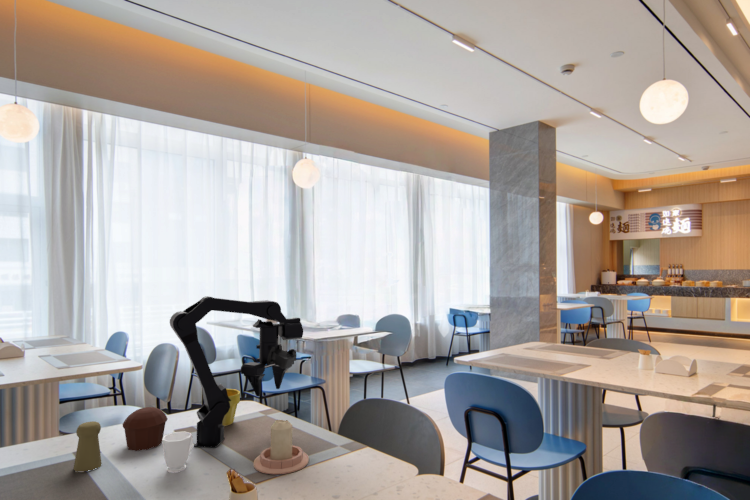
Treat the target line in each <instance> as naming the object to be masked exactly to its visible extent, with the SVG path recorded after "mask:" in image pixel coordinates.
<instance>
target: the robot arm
mask: <svg viewBox="0 0 750 500" xmlns="http://www.w3.org/2000/svg"><path fill="white" fill-rule="evenodd" d="M211 311H216V312H223V313H224V312H225V313H235V314H247V315H252V316H255V317H258V318H262V319H265V320H268V321H263V320H262V319H257V320H256V322H255V323H253V324H252V327H253V328H256V329H259V342H258V343H259V344H257V345H256V346H255V347H256V349H259V351H258V352H259V353H258V354H259V357H258V358H255V361H254V362H253V361H250V362H247V363H243V364H242V365H240V374H242V375H243V376H244V377H246V379H247V380H248V381H249V384H250V385H251V387H252V391H253V392H254V394H255V396H256V397H260V396H261V389H262V379H263V378H264V376H266V374H265V371H266V369H267V368H271V369H272V375H273V380H274V384H275V389H276V390H280V388H281V385H282V384H283V383H282V382H283V379H284V377H285V374H286V372H287V371H288V370H289V369H290V368H292V367H293V365H294V364H295V362H296V361H297V350H295V349H293V348H291V349H289V350H283V345H282V344H280V343H279V338H281V340H282V341H288V340H290V341H291V340H301V339H302V338H303V335H304V327H303V324H302V322H301V318H300V317H292V318H287V317H286V316H285V315H284V314H283V312H282V309H281V305H280V304H279V302H278V301H272V300H268V299H267V300H256V301H255V300H253V301H244V300H235V299H227V298H221V297H220V298H219V297H213V296H210V295H209V296H203V297H201V299H199V300H198V301H197V302H195V303H193V304H191V305H190V306H188V307H187V308H186V309H184V310H183V311H177V312H174V313H173V314H172V316H171V317H170V319H169V325H170V327H171V329H172V331H173V332H174V333H175V335H176V336H177V337H178V339H179V340H180V341H181V342H180V343H182V345H183V346H184V349H185V350H186V353H187V356H188V359H189V360H190V363H191V365H192V368H193V370H194V372H195V375H196V377H197V379H198V381H199V384H200V386H201V390H202V392H201V393H202V398H203V402H204V403H203V405H201V407H200V408H199V409H198V410H197V411H196V415H197V418H198V419H199V421H197V422H196V442H195V443H193V448H217V447H218V446H219V445H220V444H221V443H223V442H224V440H225V426H224V425H222V421H223V419H224V416H225V415H226V414H227V413H228V411H229V409H230V403H229V401H231V399H230V398H229V397H228V395H227V390H226V389H227V388H226V387H225V386H224V385H223V384H222V383H220V384H219V385H218V384H217V382H216V379H215V377H214V375H213V373H212V370H211V368H210V365H209V363H208V361H207V358H206V356H205V354H204V352H203V351H204V350H203V348H202V346H201V344H200V342H199V337H198V335H199V334H198V328H197V323H199V322H200V321H201V320H202V319H204V317H206V316H207V314H208V313H210V312H211ZM273 322H276V323H273Z"/></svg>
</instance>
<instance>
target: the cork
mask: <svg viewBox="0 0 750 500" xmlns="http://www.w3.org/2000/svg"><path fill="white" fill-rule="evenodd" d="M101 429H102V426H101V424H100V422H99V421H96V420H95V421H86V422H82V423H80V424H79V425H78V427H77V429H76V431H75V432H76V434H75V435H76V436H77V438H78V441H77V448H76V454H75V459H74V463H73V464H74V465H73V469H74V470H75V471H88V470H93V469H95V468H97V469H99V468H100V467H102V465H101V464H103V463H102V456H101V448H100V440H99V434H100V432H101ZM98 467H99V468H98ZM95 470H96V469H95ZM93 471H94V470H93Z"/></svg>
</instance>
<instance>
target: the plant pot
mask: <svg viewBox="0 0 750 500" xmlns="http://www.w3.org/2000/svg"><path fill="white" fill-rule="evenodd" d="M226 390H227V395H228V397H229V398H230V399H231V401H229V403H230V409H229V411H228V413H227V414H226V415H225V416H224V419H223V421H222V425H224V427H227V426H230V425H232V424H234V420H235V415H236V411H237V407H238V404H240V400H241V399H240V398H241V391H240V390H238V389H234V388H226Z"/></svg>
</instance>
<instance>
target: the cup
mask: <svg viewBox="0 0 750 500" xmlns="http://www.w3.org/2000/svg"><path fill="white" fill-rule="evenodd" d="M161 444H162V449H163V450H162V451H163V458H164V461H165V466H166V467H167V469H166V471H167V472H168V473H171V474H173V473H181V472H182V471H185V469H186V467H187V465H186V463H187V462H188V460H189V457H190V456H191V453H192V451H193V448H194V439H193V434H192V433H191V432H188V431H184V430H183V431H173V432H170V433H168V434H165V435H163V439H162V443H161Z"/></svg>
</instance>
